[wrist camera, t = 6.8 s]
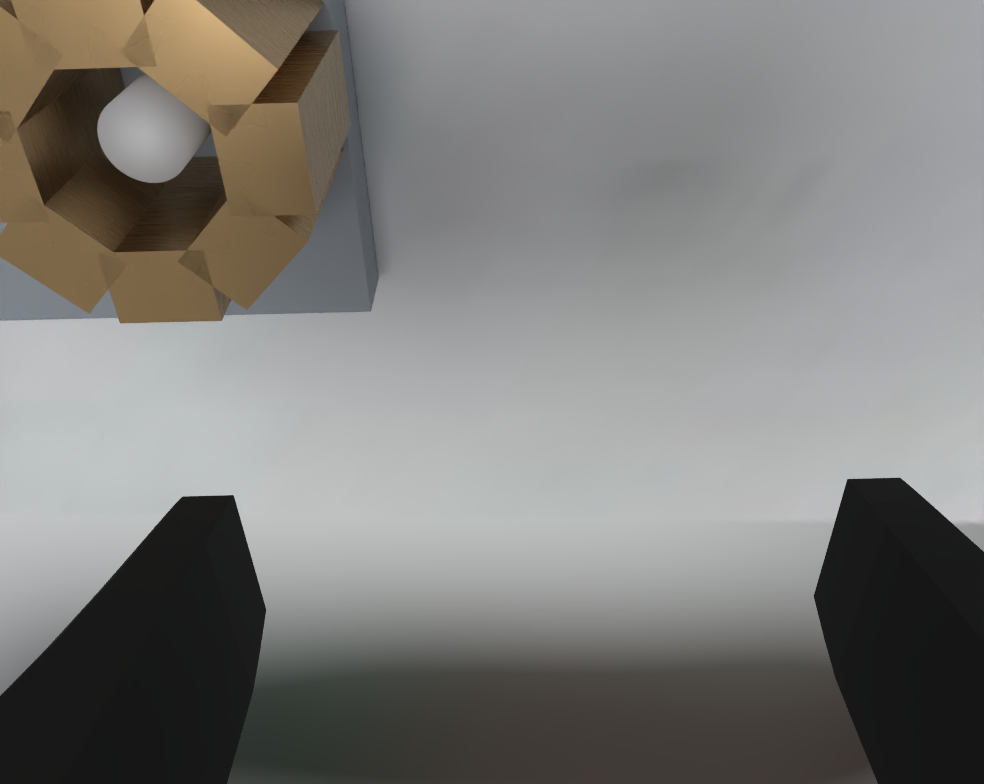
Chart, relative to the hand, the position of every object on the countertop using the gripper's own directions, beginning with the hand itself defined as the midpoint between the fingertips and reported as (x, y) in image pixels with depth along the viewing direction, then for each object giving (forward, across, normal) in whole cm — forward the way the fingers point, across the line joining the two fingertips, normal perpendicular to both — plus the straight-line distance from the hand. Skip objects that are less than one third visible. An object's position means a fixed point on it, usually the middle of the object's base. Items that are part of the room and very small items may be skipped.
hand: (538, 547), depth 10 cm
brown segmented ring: (+9, +6, -3) cm, 11 cm away
